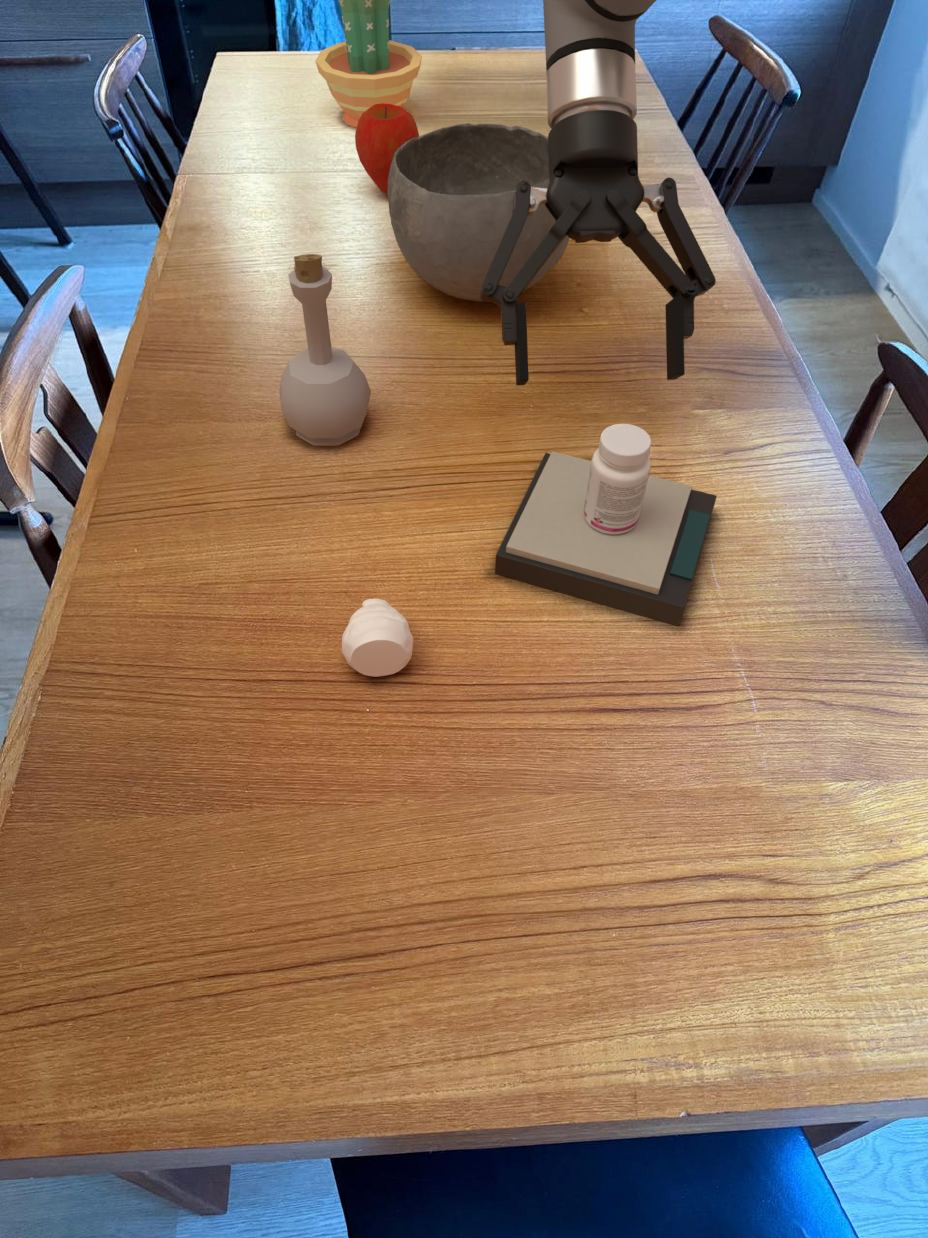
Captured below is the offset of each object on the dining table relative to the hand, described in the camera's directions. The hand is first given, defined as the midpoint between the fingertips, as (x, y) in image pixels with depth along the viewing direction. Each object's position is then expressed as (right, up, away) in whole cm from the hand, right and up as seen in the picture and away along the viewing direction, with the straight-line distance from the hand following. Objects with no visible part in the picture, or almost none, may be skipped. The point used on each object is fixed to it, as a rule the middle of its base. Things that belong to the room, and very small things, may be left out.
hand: (599, 380), depth 78 cm
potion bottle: (-25, -2, +11) cm, 28 cm away
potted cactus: (-26, +55, +57) cm, 83 cm away
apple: (-22, +36, +42) cm, 59 cm away
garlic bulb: (-19, -23, -7) cm, 31 cm away
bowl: (-10, +19, +28) cm, 35 cm away
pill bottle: (+1, -12, -2) cm, 12 cm away
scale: (+1, -14, +1) cm, 14 cm away
